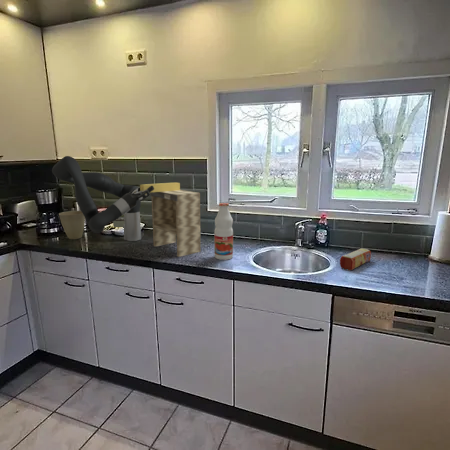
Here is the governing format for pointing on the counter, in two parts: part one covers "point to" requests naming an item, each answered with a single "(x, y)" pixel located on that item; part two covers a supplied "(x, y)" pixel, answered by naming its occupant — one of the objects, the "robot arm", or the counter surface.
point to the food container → (119, 222)
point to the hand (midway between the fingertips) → (149, 186)
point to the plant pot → (73, 223)
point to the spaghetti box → (161, 187)
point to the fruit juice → (223, 233)
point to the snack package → (355, 259)
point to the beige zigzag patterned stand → (177, 220)
